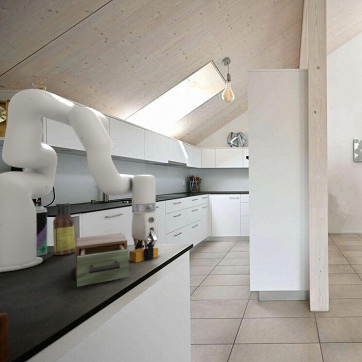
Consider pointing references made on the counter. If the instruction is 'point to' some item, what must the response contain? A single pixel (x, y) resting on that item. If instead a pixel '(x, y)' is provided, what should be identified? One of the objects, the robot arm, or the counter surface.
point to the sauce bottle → (63, 230)
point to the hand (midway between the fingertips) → (144, 257)
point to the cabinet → (99, 242)
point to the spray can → (41, 229)
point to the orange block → (140, 254)
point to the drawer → (102, 264)
